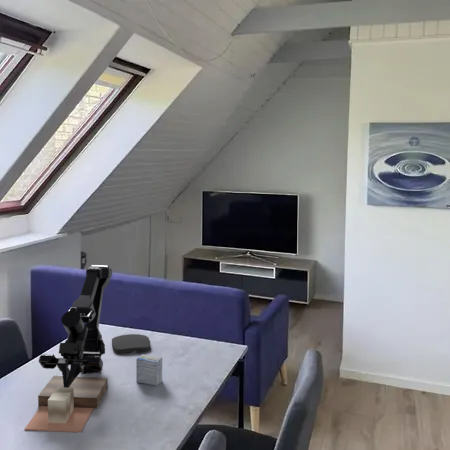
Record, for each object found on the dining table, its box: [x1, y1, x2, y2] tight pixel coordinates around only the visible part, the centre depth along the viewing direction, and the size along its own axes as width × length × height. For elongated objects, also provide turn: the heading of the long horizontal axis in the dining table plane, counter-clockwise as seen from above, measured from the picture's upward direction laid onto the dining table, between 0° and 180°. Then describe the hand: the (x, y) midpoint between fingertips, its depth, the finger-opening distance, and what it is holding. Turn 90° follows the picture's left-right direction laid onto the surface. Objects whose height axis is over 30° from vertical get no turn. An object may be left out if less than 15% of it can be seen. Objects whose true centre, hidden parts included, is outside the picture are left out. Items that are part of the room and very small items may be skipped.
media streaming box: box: [111, 333, 152, 355], centre depth 210 cm, size 15×15×3 cm
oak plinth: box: [37, 375, 109, 410], centre depth 168 cm, size 14×18×4 cm
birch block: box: [48, 387, 74, 423], centre depth 155 cm, size 7×5×8 cm
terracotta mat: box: [24, 406, 94, 433], centre depth 154 cm, size 13×16×1 cm
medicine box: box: [135, 353, 163, 387], centre depth 179 cm, size 8×4×9 cm, turn 71°
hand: (65, 389), depth 158 cm, fingers closed, pressing on birch block
